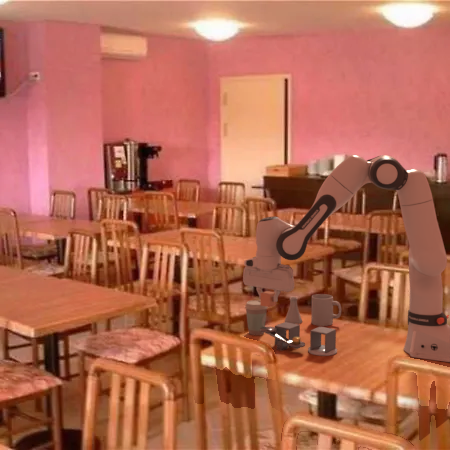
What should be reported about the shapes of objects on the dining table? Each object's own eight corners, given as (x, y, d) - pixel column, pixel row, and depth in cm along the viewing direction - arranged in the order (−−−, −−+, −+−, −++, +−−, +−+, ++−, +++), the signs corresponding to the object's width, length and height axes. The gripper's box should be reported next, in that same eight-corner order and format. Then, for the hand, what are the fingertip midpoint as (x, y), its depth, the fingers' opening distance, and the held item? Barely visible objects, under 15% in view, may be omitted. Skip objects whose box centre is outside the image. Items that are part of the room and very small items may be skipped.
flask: (301, 325, 304) (301, 300, 303) (283, 324, 305) (283, 299, 304) (303, 320, 311) (303, 296, 310) (285, 319, 312) (285, 295, 311)
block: (276, 304, 275) (276, 292, 274) (269, 307, 272) (269, 294, 271) (267, 303, 277) (267, 291, 277) (260, 305, 274) (260, 293, 274)
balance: (308, 351, 270) (308, 334, 269) (298, 355, 265) (298, 338, 264) (266, 342, 281) (266, 325, 280) (256, 346, 276) (256, 329, 275)
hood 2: (335, 348, 270) (335, 329, 269) (326, 353, 265) (326, 333, 264) (319, 345, 274) (320, 326, 273) (310, 349, 269) (310, 330, 268)
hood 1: (299, 343, 279) (299, 324, 278) (289, 347, 274) (289, 328, 273) (285, 340, 283) (285, 321, 282) (275, 344, 278) (275, 325, 277)
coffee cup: (265, 336, 288) (265, 305, 286) (243, 335, 290) (243, 304, 288) (269, 330, 296) (269, 300, 295) (247, 329, 298) (247, 299, 296)
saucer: (342, 350, 270) (342, 348, 270) (327, 357, 263) (327, 355, 262) (318, 345, 276) (318, 343, 276) (302, 352, 269) (302, 350, 269)
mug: (308, 325, 304) (308, 297, 302) (314, 319, 312) (315, 293, 310) (338, 328, 299) (338, 300, 298) (343, 322, 307) (344, 295, 305)
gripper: (297, 264, 268) (297, 303, 270) (251, 257, 281) (251, 294, 283) (287, 267, 264) (287, 306, 265) (240, 260, 276) (240, 298, 278)
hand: (268, 300), depth 274 cm, fingers closed on block, 4 cm apart
